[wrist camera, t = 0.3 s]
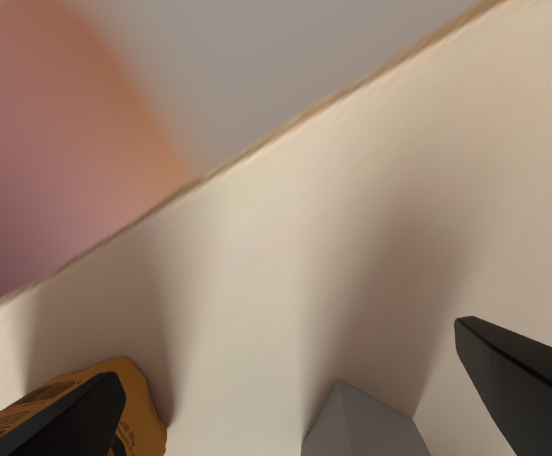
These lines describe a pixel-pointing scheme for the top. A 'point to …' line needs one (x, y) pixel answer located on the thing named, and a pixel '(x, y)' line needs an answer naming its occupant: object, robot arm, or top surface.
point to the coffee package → (134, 421)
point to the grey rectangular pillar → (361, 428)
